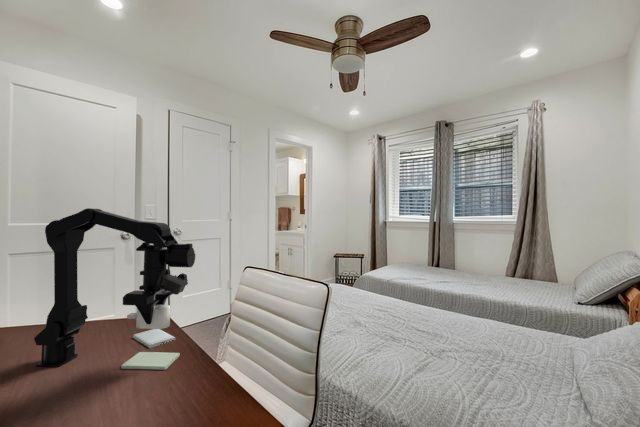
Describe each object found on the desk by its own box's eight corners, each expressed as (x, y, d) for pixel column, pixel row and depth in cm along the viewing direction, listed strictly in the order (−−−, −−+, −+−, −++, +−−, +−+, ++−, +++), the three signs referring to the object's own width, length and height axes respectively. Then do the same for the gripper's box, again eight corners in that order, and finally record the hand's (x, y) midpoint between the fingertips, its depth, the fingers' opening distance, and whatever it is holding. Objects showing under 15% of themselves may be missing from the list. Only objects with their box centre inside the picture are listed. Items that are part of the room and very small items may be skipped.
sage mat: (121, 368, 79) (121, 365, 79) (139, 354, 87) (139, 351, 87) (165, 369, 79) (165, 366, 79) (179, 355, 87) (179, 352, 87)
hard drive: (133, 334, 98) (149, 344, 91) (158, 327, 105) (175, 336, 98) (132, 339, 98) (149, 349, 91) (158, 332, 105) (175, 341, 97)
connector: (124, 328, 81) (125, 308, 81) (133, 322, 85) (134, 304, 85) (165, 329, 81) (165, 309, 81) (172, 323, 85) (173, 305, 85)
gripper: (166, 273, 74) (163, 335, 73) (197, 262, 92) (195, 311, 92) (122, 272, 74) (119, 334, 73) (162, 261, 92) (160, 310, 92)
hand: (153, 321), depth 83 cm, fingers closed on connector, 4 cm apart
